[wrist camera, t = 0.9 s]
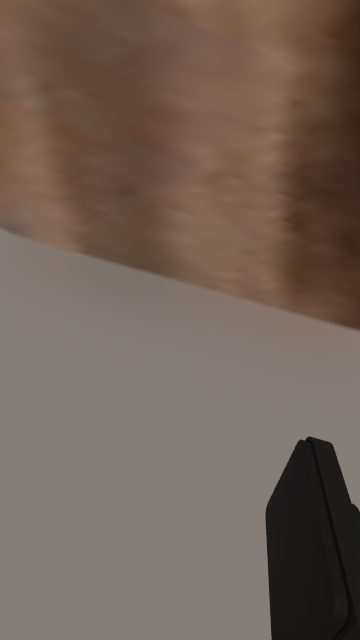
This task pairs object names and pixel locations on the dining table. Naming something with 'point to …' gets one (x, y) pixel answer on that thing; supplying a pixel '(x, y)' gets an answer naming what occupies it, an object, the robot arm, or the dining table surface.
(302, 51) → the dining table surface
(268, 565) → the robot arm
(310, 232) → the dining table surface
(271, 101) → the dining table surface
